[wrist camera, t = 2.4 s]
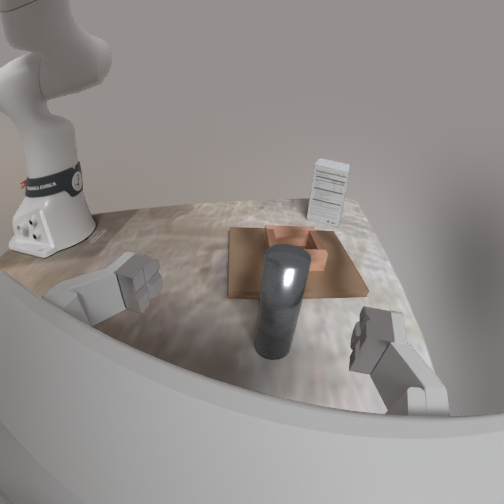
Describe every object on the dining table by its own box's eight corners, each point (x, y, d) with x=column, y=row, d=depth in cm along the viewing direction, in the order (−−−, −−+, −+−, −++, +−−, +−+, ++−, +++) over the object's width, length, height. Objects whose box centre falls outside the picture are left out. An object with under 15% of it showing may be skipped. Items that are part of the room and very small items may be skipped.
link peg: (255, 360, 28) (267, 269, 21) (253, 332, 31) (262, 243, 25) (292, 358, 28) (316, 270, 22) (287, 332, 31) (305, 244, 25)
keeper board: (228, 298, 36) (228, 272, 34) (229, 233, 51) (230, 212, 49) (366, 296, 38) (375, 273, 35) (332, 236, 53) (336, 217, 50)
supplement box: (311, 208, 64) (319, 157, 58) (341, 215, 62) (351, 164, 56) (305, 219, 59) (313, 163, 52) (338, 227, 56) (349, 171, 50)
